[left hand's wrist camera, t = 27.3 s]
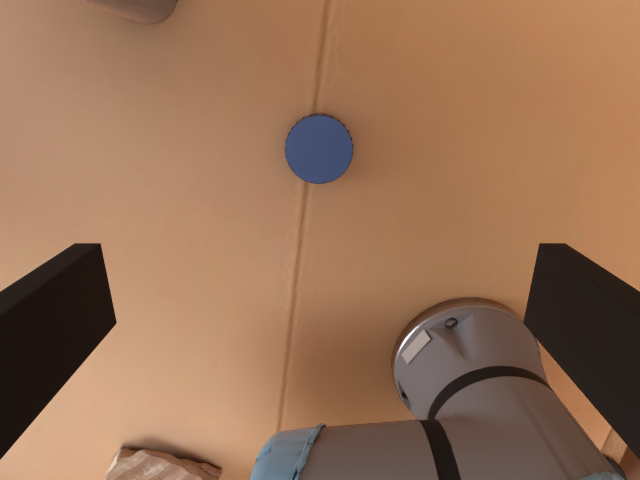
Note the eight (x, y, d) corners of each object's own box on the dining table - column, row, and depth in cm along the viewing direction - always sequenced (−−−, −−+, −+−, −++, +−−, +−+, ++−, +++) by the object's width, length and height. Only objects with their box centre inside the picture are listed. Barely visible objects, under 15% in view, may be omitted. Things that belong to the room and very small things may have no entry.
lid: (331, 191, 38) (332, 196, 37) (274, 161, 37) (272, 164, 36) (364, 134, 37) (366, 136, 35) (305, 100, 36) (304, 101, 34)
